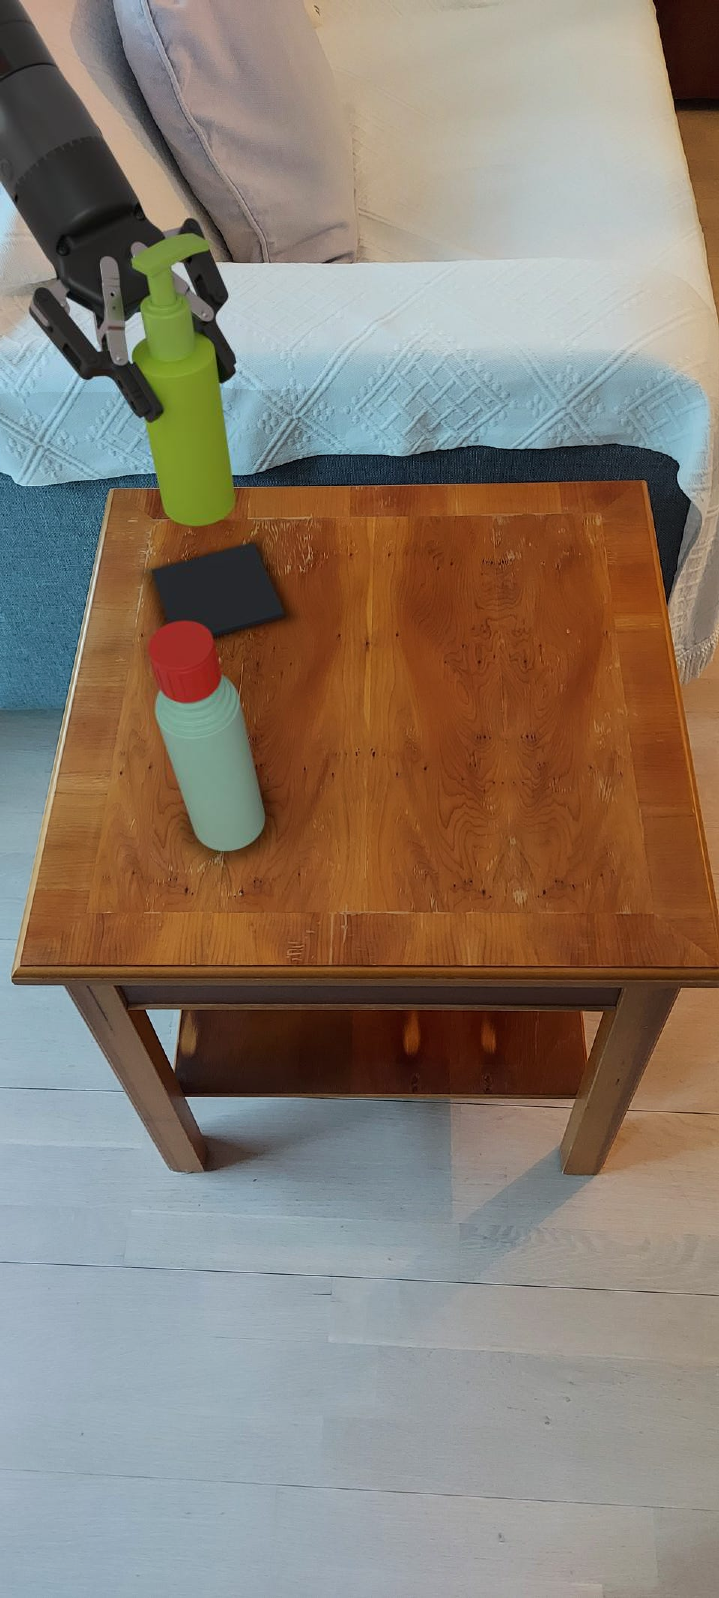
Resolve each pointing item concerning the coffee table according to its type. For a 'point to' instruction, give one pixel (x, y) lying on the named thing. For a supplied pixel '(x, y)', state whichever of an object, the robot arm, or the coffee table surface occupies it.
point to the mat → (219, 590)
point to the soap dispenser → (182, 393)
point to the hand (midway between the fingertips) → (192, 397)
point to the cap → (185, 661)
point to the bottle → (214, 766)
